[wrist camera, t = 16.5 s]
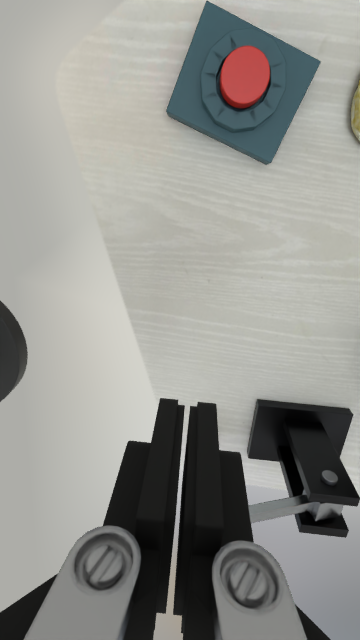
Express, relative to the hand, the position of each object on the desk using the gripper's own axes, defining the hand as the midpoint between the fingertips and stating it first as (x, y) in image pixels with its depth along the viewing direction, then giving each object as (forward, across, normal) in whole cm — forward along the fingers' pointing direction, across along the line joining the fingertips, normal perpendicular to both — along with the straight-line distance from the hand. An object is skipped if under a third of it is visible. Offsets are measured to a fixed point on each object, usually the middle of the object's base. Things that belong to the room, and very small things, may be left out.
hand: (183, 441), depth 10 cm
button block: (+27, -2, -15) cm, 31 cm away
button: (+23, -2, -15) cm, 28 cm away
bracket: (+27, -14, +20) cm, 37 cm away
